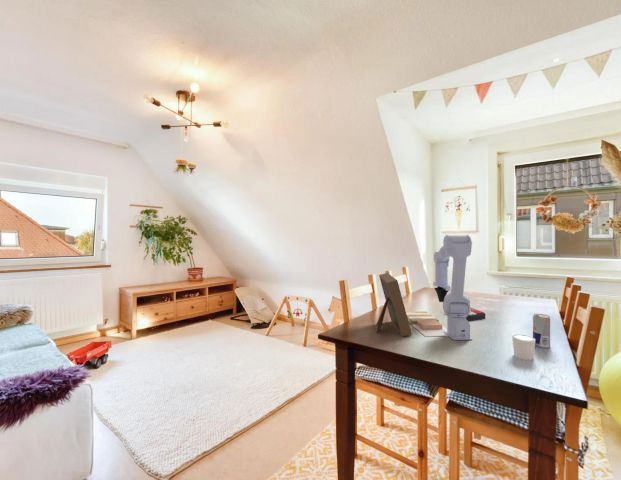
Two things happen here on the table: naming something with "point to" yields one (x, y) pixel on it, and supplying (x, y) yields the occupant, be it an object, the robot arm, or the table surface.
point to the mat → (431, 331)
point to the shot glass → (523, 346)
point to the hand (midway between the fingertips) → (441, 301)
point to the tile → (428, 324)
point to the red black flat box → (475, 315)
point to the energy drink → (541, 330)
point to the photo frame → (393, 305)
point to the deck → (419, 316)
